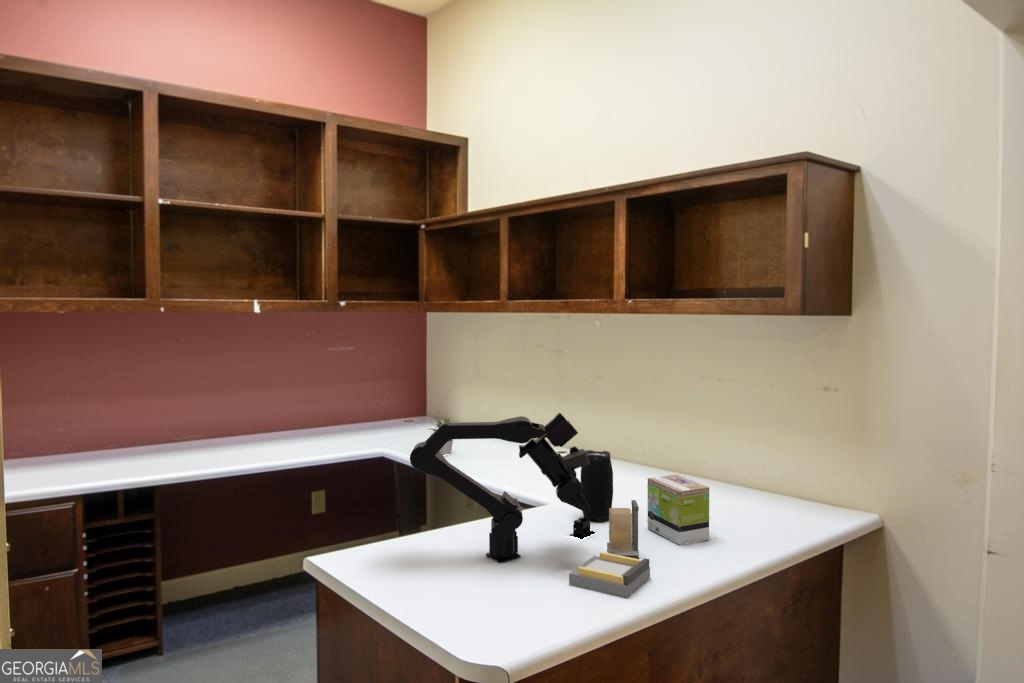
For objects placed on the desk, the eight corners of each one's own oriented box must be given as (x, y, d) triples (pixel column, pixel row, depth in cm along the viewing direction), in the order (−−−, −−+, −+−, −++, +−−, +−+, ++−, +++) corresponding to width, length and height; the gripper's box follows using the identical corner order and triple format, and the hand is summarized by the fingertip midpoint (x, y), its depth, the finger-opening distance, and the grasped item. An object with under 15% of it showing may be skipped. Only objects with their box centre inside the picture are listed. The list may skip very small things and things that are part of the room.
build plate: (582, 528, 198) (582, 512, 198) (605, 533, 194) (605, 516, 194) (558, 540, 189) (558, 523, 188) (582, 545, 184) (582, 528, 184)
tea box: (646, 529, 195) (646, 477, 195) (675, 524, 199) (676, 473, 199) (679, 546, 182) (679, 490, 181) (710, 541, 186) (711, 485, 185)
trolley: (609, 562, 171) (609, 506, 170) (606, 553, 177) (606, 499, 176) (638, 562, 170) (639, 507, 170) (635, 553, 176) (635, 500, 176)
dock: (569, 584, 157) (569, 564, 157) (594, 565, 168) (594, 547, 168) (627, 598, 150) (627, 577, 150) (650, 577, 161) (650, 558, 161)
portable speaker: (592, 512, 212) (592, 448, 211) (617, 518, 206) (618, 452, 205) (575, 519, 205) (575, 452, 204) (600, 525, 199) (600, 457, 198)
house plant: (432, 450, 303) (431, 412, 303) (463, 451, 301) (463, 413, 301) (423, 457, 289) (423, 418, 288) (456, 458, 287) (456, 418, 286)
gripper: (576, 445, 164) (618, 496, 165) (568, 431, 183) (606, 476, 184) (539, 476, 165) (582, 526, 165) (535, 458, 183) (573, 503, 184)
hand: (587, 506), depth 175 cm, fingers open, 9 cm apart
